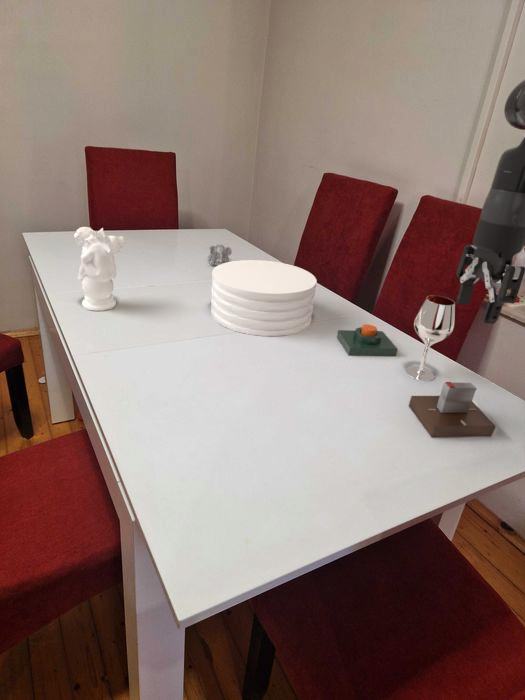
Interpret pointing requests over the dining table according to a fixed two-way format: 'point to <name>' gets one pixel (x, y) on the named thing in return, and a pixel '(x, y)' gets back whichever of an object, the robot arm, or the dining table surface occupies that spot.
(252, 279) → the plate stack
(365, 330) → the button
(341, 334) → the button box
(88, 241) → the cherub figurine
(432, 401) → the panel
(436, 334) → the wineglass
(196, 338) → the dining table surface
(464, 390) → the tap knob
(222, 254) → the elephant statuette
